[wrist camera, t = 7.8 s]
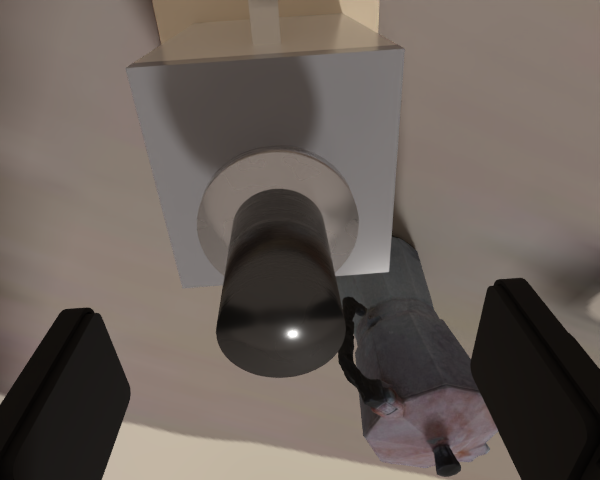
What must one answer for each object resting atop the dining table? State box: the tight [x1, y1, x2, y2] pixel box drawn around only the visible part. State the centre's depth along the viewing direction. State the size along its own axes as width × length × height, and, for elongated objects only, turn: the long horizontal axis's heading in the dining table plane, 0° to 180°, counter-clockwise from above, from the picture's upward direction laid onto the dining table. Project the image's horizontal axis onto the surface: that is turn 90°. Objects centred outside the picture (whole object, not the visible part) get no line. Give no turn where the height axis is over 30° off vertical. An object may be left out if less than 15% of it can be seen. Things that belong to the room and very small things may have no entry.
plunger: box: [197, 145, 359, 378], centre depth 20 cm, size 8×8×23 cm
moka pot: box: [336, 237, 498, 477], centre depth 34 cm, size 10×15×20 cm, turn 51°
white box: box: [126, 0, 405, 288], centre depth 25 cm, size 15×19×18 cm
